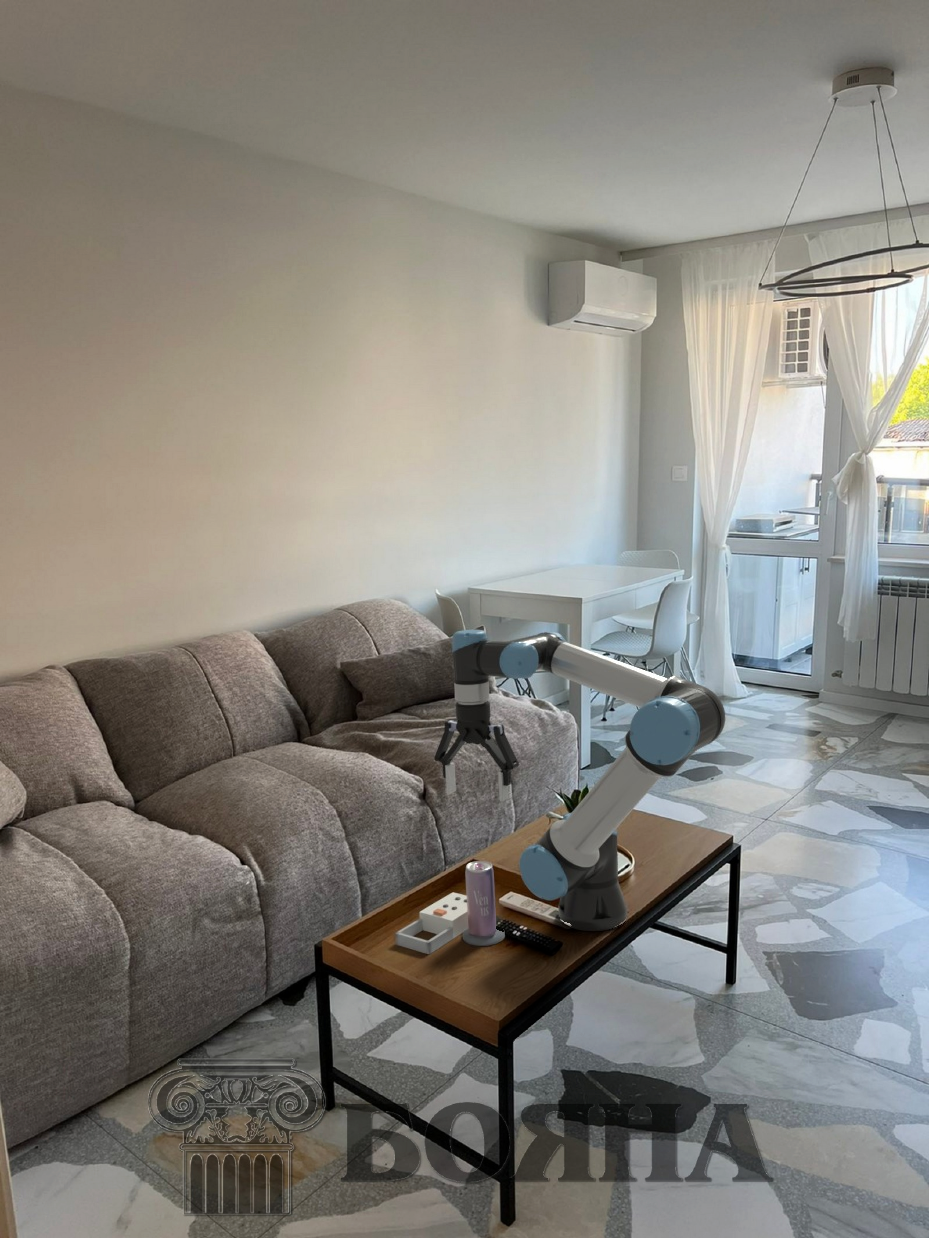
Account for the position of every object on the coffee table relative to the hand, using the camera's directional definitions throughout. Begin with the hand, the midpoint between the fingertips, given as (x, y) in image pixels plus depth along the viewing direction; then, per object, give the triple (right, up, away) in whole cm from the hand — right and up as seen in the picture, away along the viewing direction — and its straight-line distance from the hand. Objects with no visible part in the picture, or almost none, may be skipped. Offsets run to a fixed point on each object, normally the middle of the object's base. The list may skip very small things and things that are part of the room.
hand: (477, 796), depth 207 cm
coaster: (+1, -29, -6) cm, 29 cm away
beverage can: (+1, -28, -6) cm, 29 cm away
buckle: (-6, -28, +1) cm, 29 cm away
